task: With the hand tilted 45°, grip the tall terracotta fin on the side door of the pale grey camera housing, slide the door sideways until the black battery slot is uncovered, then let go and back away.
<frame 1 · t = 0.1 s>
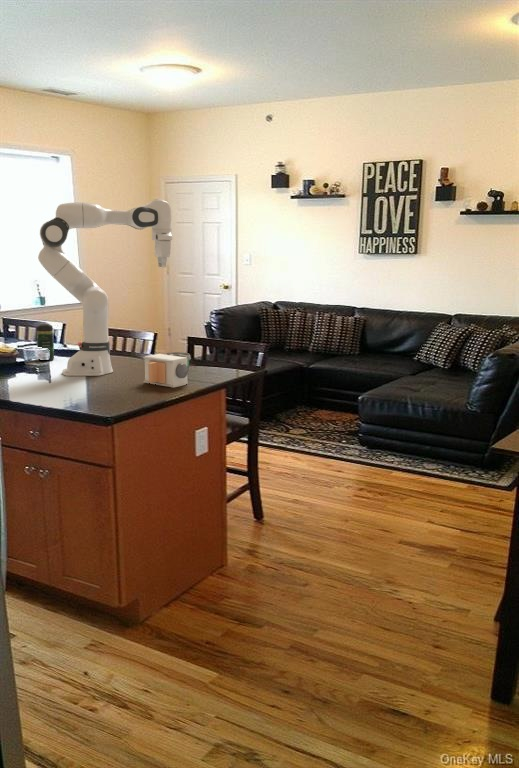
hand: (162, 267, 298), 48 cm above the worktop, tool pointing down, fingers open, 8 cm apart
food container: (180, 375, 296), on the worktop
coffee jar: (46, 360, 329), on the worktop
side door: (154, 372, 269), point 6 cm above the worktop, slide at 0.0 cm
camera housing: (166, 383, 276), on the worktop
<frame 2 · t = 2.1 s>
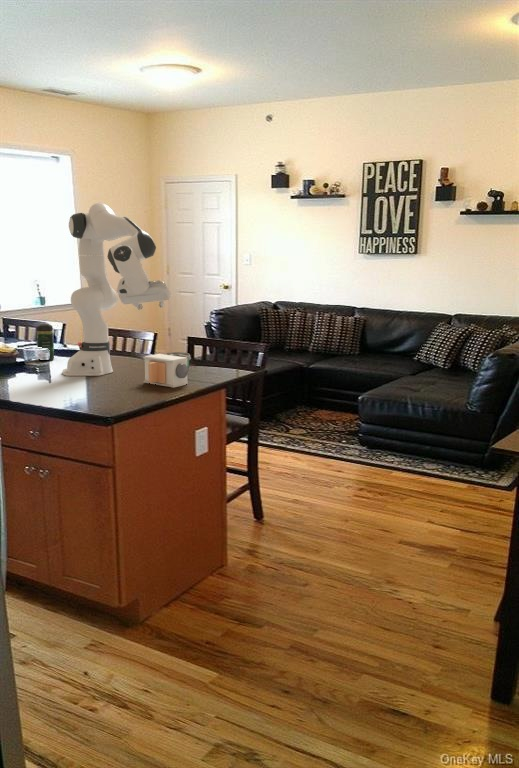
hand: (151, 307, 261), 33 cm above the worktop, tool tilted 45°, fingers open, 8 cm apart
nothing on the worktop moved.
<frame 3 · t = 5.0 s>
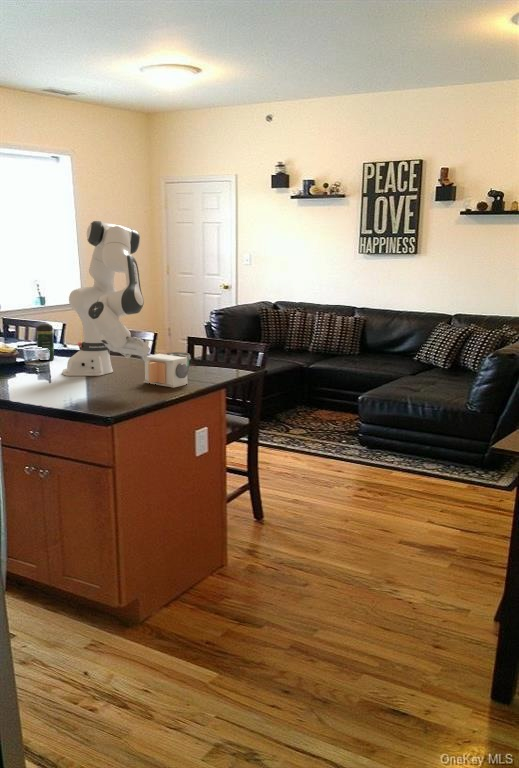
hand: (137, 358, 260), 13 cm above the worktop, tool tilted 45°, fingers open, 8 cm apart
nothing on the worktop moved.
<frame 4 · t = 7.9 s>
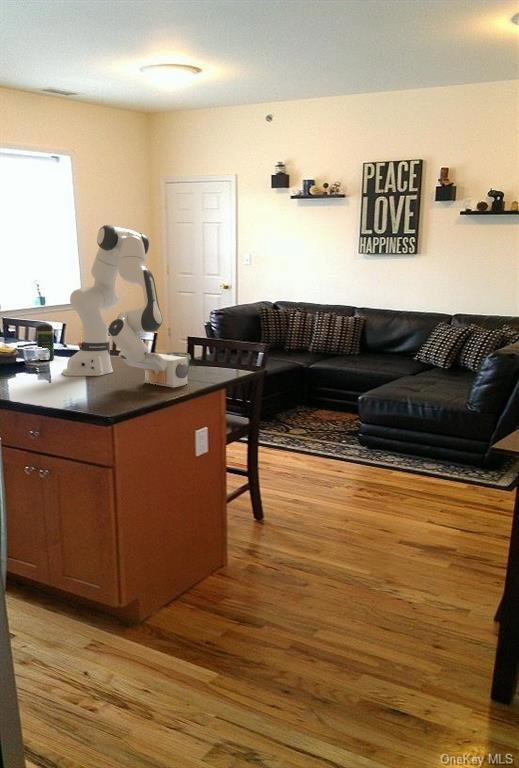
hand: (154, 372, 269), 6 cm above the worktop, tool tilted 45°, fingers closed on side door, 2 cm apart
side door: (154, 372, 269), point 6 cm above the worktop, slide at 0.0 cm, touching gripper
everything else where it was.
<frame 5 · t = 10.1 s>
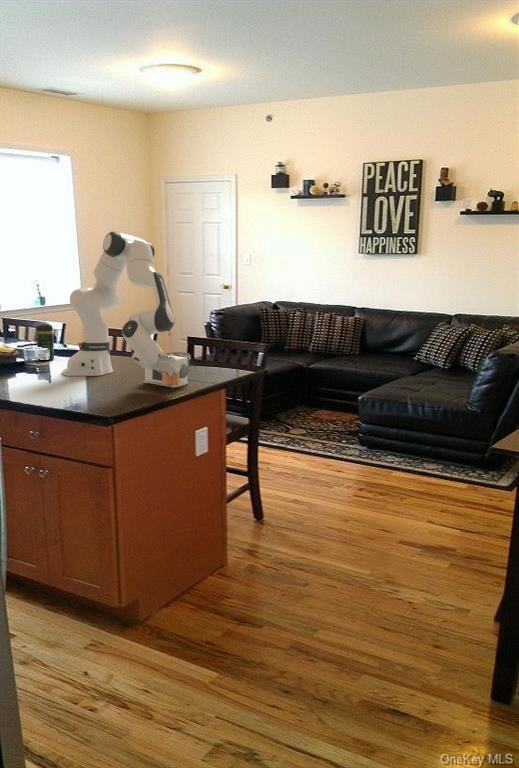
hand: (167, 374, 265), 6 cm above the worktop, tool tilted 45°, fingers closed on side door, 2 cm apart
side door: (167, 374, 265), point 6 cm above the worktop, slide at 7.5 cm, touching gripper
everything else where it was.
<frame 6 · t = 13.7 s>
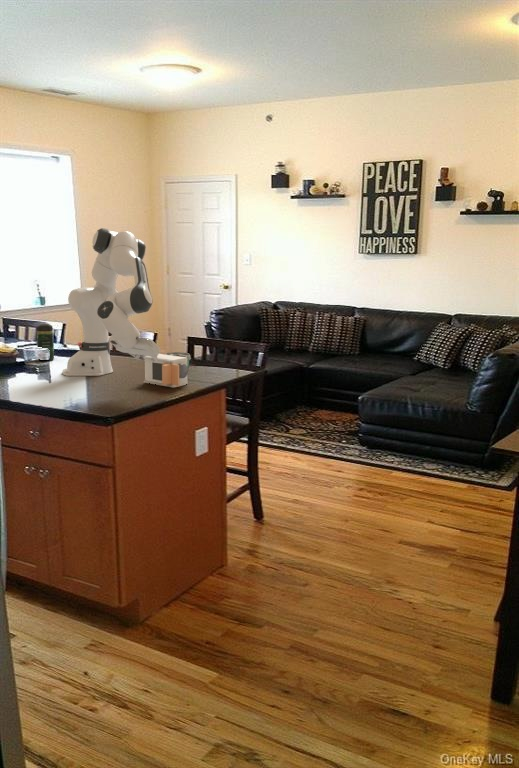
hand: (147, 358, 254), 14 cm above the worktop, tool tilted 45°, fingers open, 8 cm apart
side door: (167, 374, 265), point 6 cm above the worktop, slide at 7.6 cm
everything else where it was.
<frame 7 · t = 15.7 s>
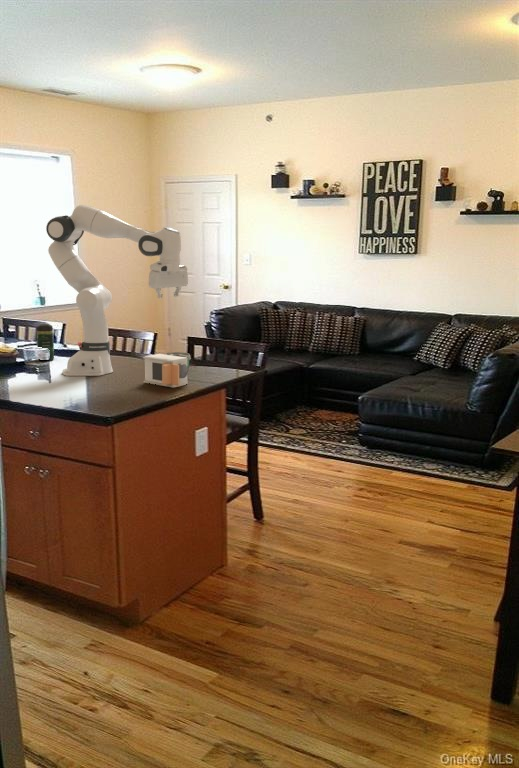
hand: (168, 297, 288), 35 cm above the worktop, tool pointing down, fingers open, 8 cm apart
nothing on the worktop moved.
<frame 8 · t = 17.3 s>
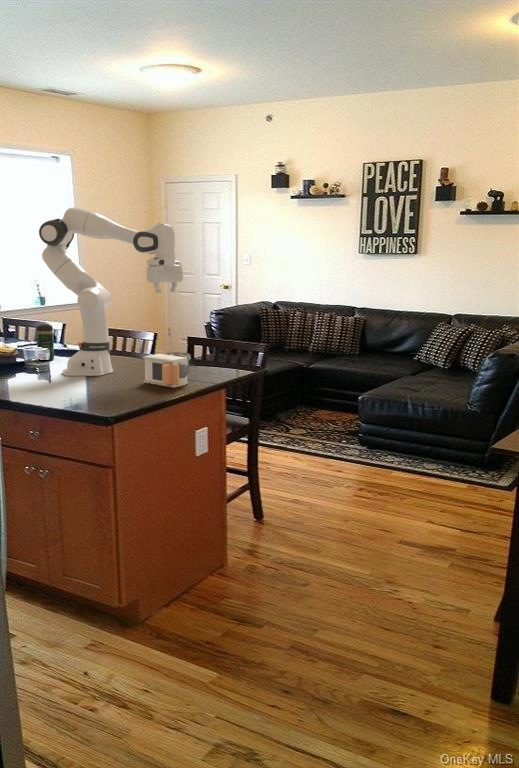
hand: (165, 292, 289), 37 cm above the worktop, tool pointing down, fingers open, 8 cm apart
nothing on the worktop moved.
at the end: side door slide at 7.6 cm; the gripper is holding nothing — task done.
